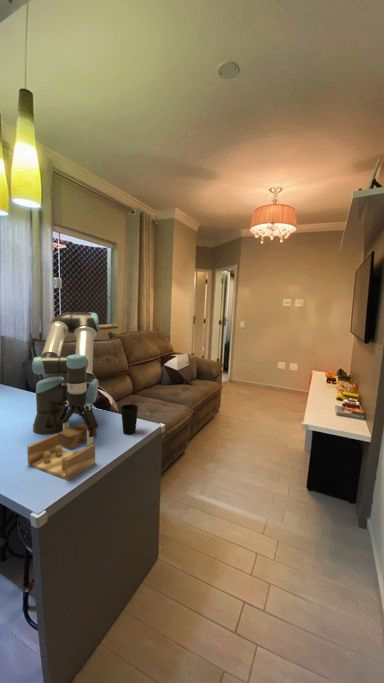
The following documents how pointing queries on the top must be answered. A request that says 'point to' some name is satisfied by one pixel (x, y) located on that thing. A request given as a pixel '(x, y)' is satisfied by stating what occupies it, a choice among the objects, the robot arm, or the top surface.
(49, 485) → the top surface
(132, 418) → the cup
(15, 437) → the top surface
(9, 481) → the top surface
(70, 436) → the brown wooden block
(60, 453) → the stand
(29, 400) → the top surface
